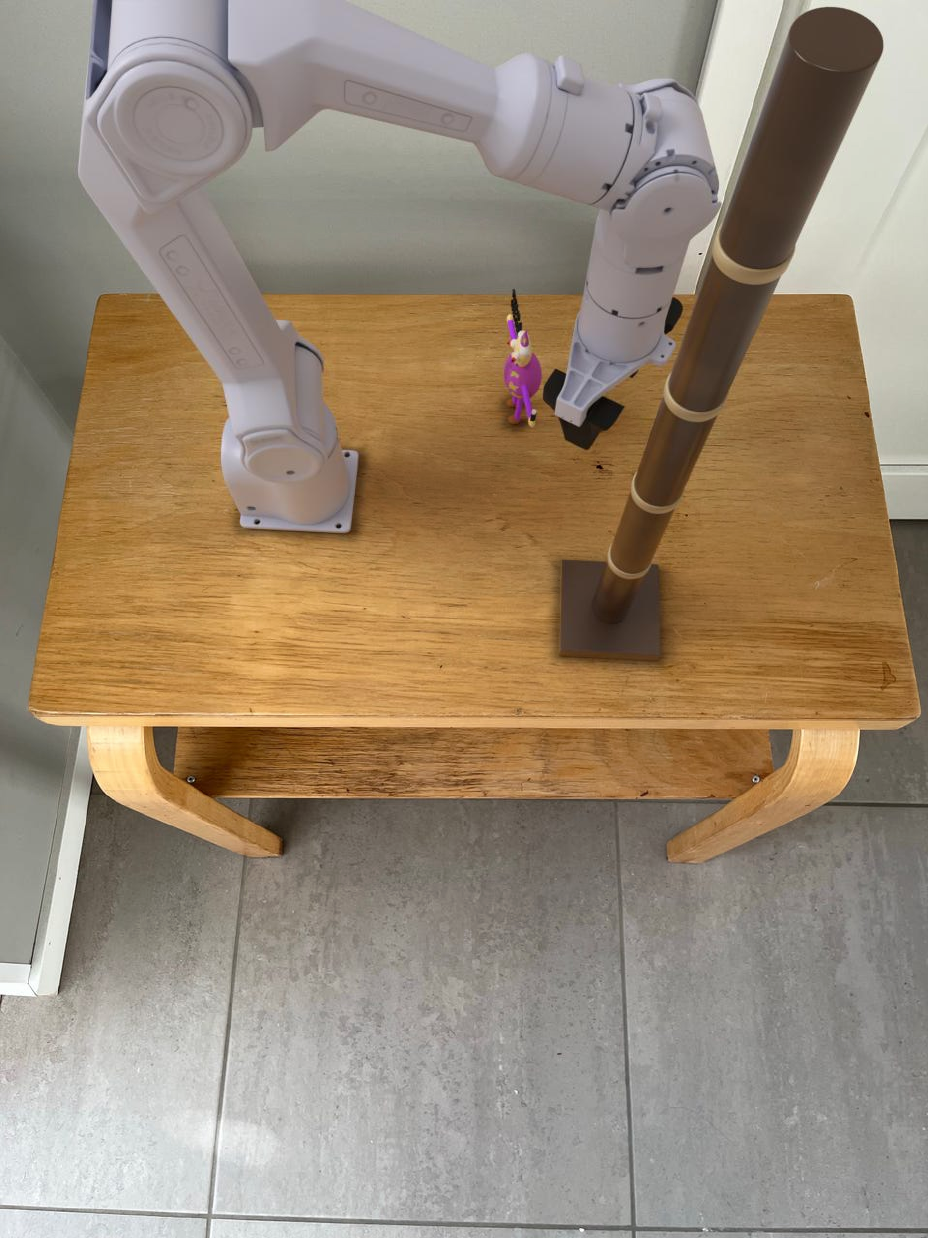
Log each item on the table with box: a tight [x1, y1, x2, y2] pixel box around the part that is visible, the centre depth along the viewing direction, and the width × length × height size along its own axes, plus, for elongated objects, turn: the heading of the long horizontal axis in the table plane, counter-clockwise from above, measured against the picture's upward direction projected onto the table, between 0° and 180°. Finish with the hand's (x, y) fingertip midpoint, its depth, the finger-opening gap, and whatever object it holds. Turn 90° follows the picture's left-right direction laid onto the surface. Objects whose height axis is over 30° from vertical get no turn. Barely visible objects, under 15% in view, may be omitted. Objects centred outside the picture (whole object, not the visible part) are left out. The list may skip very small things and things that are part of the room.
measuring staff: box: [558, 6, 885, 662], centre depth 52 cm, size 8×8×50 cm
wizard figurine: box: [503, 288, 543, 428], centre depth 77 cm, size 11×3×12 cm, turn 9°
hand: (600, 405), depth 71 cm, fingers open, 7 cm apart
